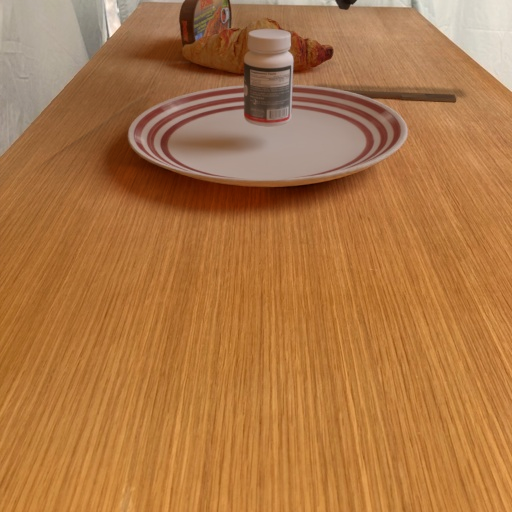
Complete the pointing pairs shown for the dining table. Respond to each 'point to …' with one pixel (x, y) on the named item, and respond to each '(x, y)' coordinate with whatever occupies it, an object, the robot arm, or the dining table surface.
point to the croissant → (235, 47)
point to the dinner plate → (267, 137)
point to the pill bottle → (268, 78)
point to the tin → (203, 19)
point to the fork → (406, 96)
